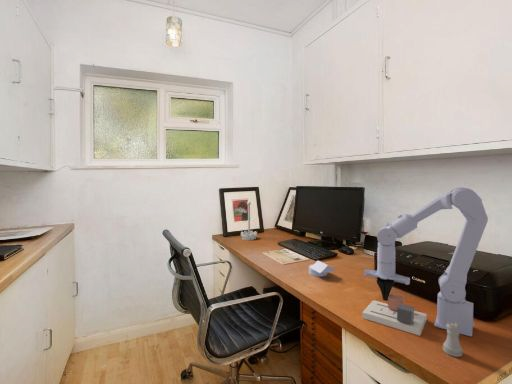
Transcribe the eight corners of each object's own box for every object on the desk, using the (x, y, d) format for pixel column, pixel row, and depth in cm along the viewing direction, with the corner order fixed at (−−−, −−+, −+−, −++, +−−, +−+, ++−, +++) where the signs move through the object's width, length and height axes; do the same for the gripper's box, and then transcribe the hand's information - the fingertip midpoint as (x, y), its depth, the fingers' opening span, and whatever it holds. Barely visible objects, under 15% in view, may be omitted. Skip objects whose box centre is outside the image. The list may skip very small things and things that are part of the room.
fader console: (426, 319, 91) (426, 313, 91) (420, 335, 82) (420, 329, 82) (373, 305, 102) (373, 300, 102) (362, 318, 93) (362, 312, 93)
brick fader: (403, 307, 95) (403, 296, 95) (400, 311, 92) (400, 300, 92) (390, 304, 98) (391, 293, 97) (387, 308, 95) (388, 296, 94)
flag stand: (240, 237, 227) (240, 201, 225) (256, 236, 228) (256, 200, 227) (241, 240, 214) (241, 202, 212) (258, 240, 215) (257, 202, 214)
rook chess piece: (461, 360, 71) (462, 329, 71) (441, 353, 74) (441, 323, 74) (463, 352, 74) (464, 323, 74) (443, 345, 77) (444, 317, 77)
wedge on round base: (336, 277, 131) (320, 269, 143) (336, 264, 131) (320, 257, 143) (320, 280, 128) (305, 271, 140) (320, 266, 128) (305, 258, 140)
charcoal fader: (413, 319, 87) (414, 307, 87) (411, 324, 84) (411, 311, 84) (399, 315, 89) (400, 303, 89) (397, 320, 86) (397, 307, 86)
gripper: (361, 260, 98) (361, 297, 98) (407, 268, 89) (406, 309, 89) (367, 256, 103) (367, 291, 104) (411, 263, 94) (410, 302, 95)
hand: (385, 299), depth 97 cm, fingers closed
